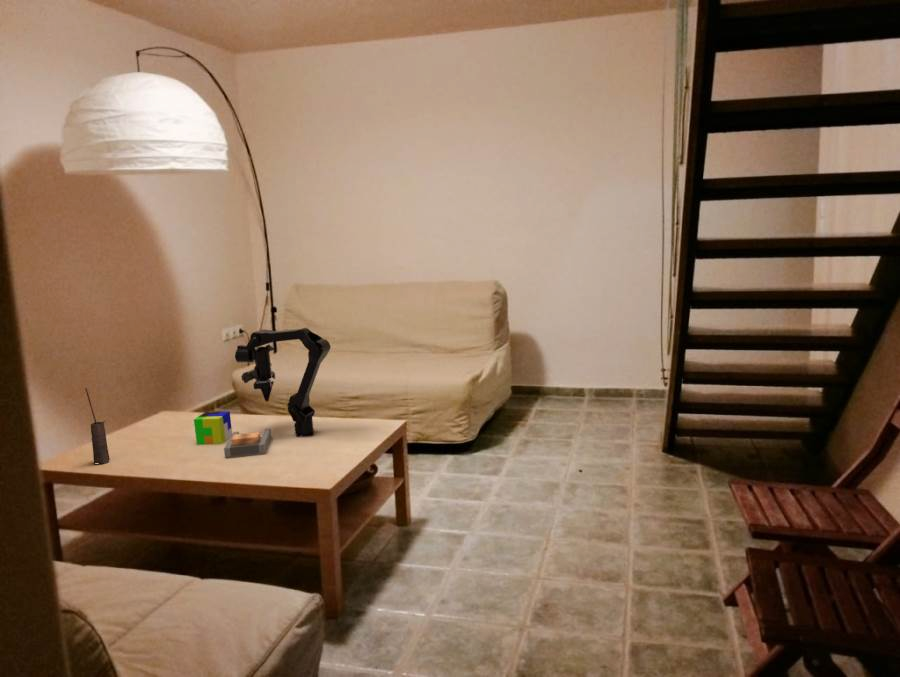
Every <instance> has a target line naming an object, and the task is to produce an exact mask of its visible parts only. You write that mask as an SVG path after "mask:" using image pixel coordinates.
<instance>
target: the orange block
mask: <svg viewBox="0 0 900 677" xmlns="http://www.w3.org/2000/svg"><path fill="white" fill-rule="evenodd" d="M260 437H261V433H260V432H259V431H258V432H247V433H239V434H236V435H234V436H233V437H232V439H231V442H232V446H237V445H247V444H257V443H260Z"/></svg>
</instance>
